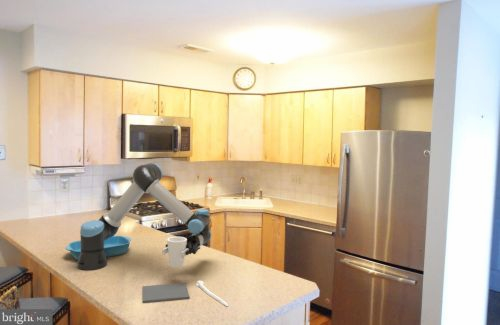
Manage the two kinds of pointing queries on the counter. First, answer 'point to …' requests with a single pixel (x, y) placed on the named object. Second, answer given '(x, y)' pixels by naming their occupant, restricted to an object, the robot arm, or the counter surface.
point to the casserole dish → (111, 246)
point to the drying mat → (165, 292)
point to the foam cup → (176, 250)
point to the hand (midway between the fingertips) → (172, 253)
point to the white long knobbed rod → (210, 293)
